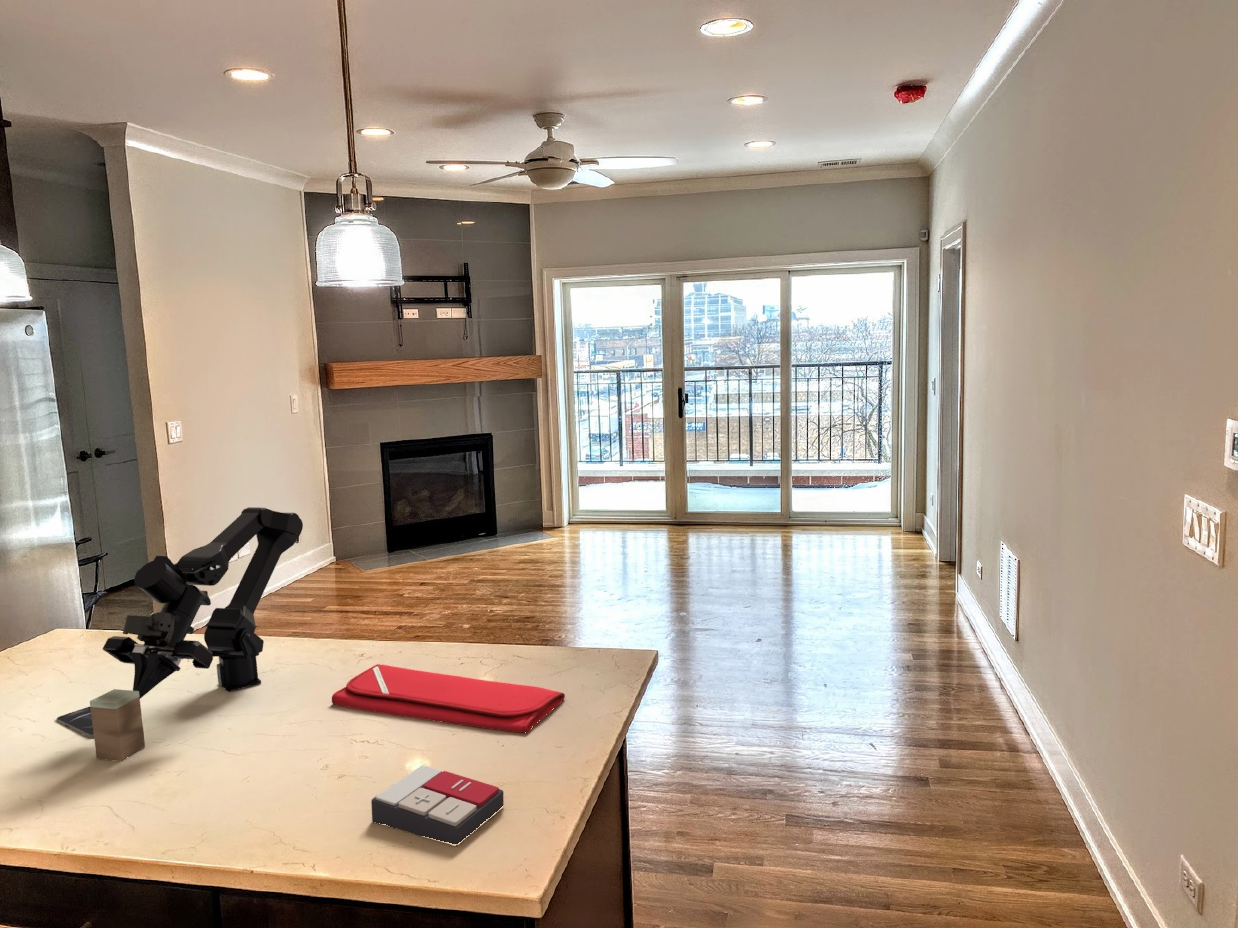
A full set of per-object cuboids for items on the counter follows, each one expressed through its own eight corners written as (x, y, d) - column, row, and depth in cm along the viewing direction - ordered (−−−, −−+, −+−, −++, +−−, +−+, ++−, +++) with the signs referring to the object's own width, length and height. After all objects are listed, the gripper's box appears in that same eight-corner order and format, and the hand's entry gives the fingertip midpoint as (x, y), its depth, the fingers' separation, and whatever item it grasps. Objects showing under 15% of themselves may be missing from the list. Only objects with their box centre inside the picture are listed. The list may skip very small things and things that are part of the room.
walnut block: (120, 745, 148) (114, 689, 146) (145, 747, 147) (138, 691, 145) (96, 758, 143) (89, 701, 142) (121, 761, 142) (115, 703, 140)
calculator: (456, 824, 114) (369, 794, 120) (456, 854, 114) (370, 823, 121) (504, 785, 123) (421, 760, 130) (505, 813, 124) (422, 786, 131)
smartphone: (97, 703, 165) (135, 720, 156) (97, 708, 165) (136, 725, 157) (53, 718, 159) (91, 736, 150) (54, 722, 159) (91, 741, 151)
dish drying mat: (526, 738, 146) (525, 717, 146) (329, 708, 161) (328, 689, 161) (565, 701, 161) (564, 682, 160) (381, 677, 176) (380, 660, 175)
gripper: (105, 592, 153) (58, 675, 144) (195, 596, 149) (153, 681, 139) (143, 621, 162) (102, 701, 152) (230, 626, 157) (192, 709, 148)
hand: (135, 698), depth 148 cm, fingers closed
